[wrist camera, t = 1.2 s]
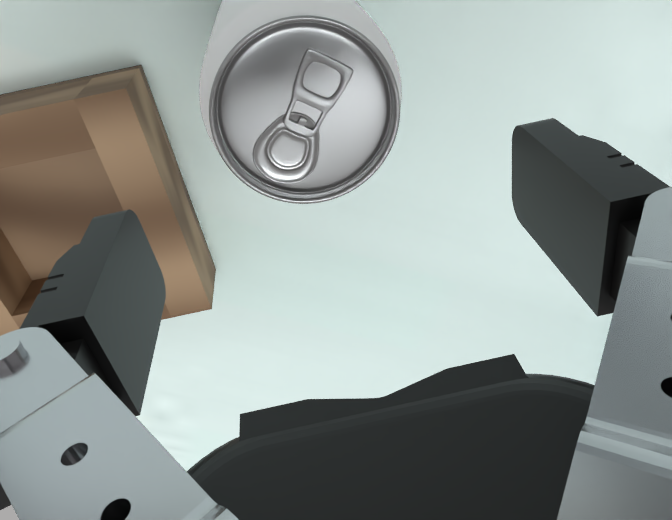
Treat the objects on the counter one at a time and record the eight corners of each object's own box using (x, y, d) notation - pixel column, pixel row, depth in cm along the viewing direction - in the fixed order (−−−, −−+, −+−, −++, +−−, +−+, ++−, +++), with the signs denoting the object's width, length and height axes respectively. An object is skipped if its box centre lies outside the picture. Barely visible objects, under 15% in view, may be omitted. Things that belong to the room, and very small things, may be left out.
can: (197, 68, 27) (163, 172, 17) (247, -74, 24) (242, -50, 14) (318, 122, 29) (353, 242, 19) (378, -2, 26) (456, 63, 16)
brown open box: (-109, 118, 26) (-160, 148, 23) (141, 64, 26) (125, 88, 23) (16, 311, 33) (-9, 356, 30) (215, 269, 33) (211, 308, 30)
